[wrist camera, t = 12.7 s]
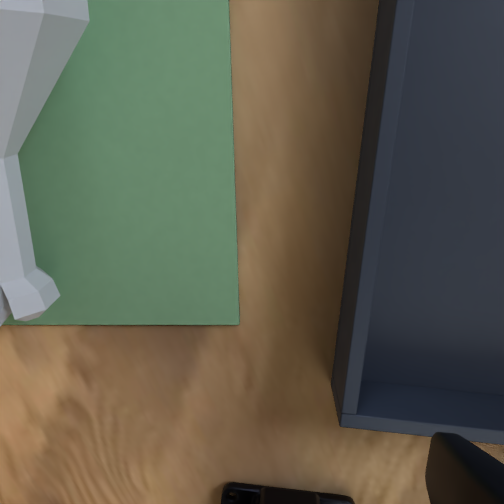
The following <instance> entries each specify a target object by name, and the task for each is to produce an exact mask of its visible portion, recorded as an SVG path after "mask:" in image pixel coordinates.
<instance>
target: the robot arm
mask: <svg viewBox="0 0 504 504" xmlns="http://www.w3.org/2000/svg"><path fill="white" fill-rule="evenodd" d="M425 480H426V487H427V491H428V495H429V499H430V503H431V504H504V464H503V463H501V462H500V461H498V460H497V459H495V458H494V457H492V456H491V455H489V454H488V453H486V452H484V451H483V450H481V449H480V448H478V447H477V446H475V445H474V444H472V443H471V442H469V441H468V440H466V439H465V438H463V437H462V436H460V435H458V434H455V433H446V432H436V433H435V434H434V435H433V437H432V439H431V444H430V450H429V455H428V460H427V466H426V472H425ZM231 492H233V493H235V494H236V495H230V494H229V493H231ZM221 504H355V503H354V501H353V499H352V498H350V497H349V496H345V495H337V494H328V493H320V492H311V491H303V490H295V489H286V488H278V487H269V486H261V485H253V484H244V483H236V482H230V483H227V484H226V485H225V486H224V488H223V491H222V499H221Z"/></svg>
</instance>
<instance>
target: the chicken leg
mask: <svg viewBox="0 0 504 504" xmlns="http://www.w3.org/2000/svg"><path fill="white" fill-rule="evenodd" d="M89 21H90V20H89V11H88V1H87V0H0V326H1V325H2V324H3V323H4V321H5V320H6V319H7V318H8V316H9V315H10V314H11V313H13V316H14V319H15V320H21V321H29V320H32V319H35V318H38V317H39V316H41V315H42V314H43V313H44V312H45V311H46V310H47V309H48V308H49V307H50V306H51V305H52V304H53V303H54V302H55V301H56V300H57V299H58V298H59V297H60V293H59V291H58V289H57V287H56V285H55V283H54V280H53V279H52V278H51V277H50V276H49V275H48V274H47V273H46V272H44V271H43V270H42V269H40V268H39V267H37V266H36V263H35V257H34V250H33V244H32V238H31V232H30V226H29V220H28V214H27V208H26V202H25V196H24V190H23V183H22V177H21V171H20V165H19V159H18V152H19V150H20V148H21V147H22V145H23V143H24V141H25V139H26V137H27V136H28V134H29V132H30V130H31V128H32V126H33V124H34V123H35V121H36V119H37V117H38V115H39V113H40V112H41V110H42V108H43V106H44V104H45V102H46V100H47V99H48V97H49V95H50V93H51V91H52V89H53V88H54V86H55V84H56V82H57V80H58V78H59V77H60V75H61V73H62V71H63V69H64V67H65V65H66V64H67V62H68V60H69V58H70V56H71V54H72V53H73V51H74V49H75V47H76V45H77V43H78V41H79V40H80V38H81V36H82V34H83V32H84V30H85V29H86V27H87V25H88V23H89Z"/></svg>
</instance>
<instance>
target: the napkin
mask: <svg viewBox="0 0 504 504" xmlns="http://www.w3.org/2000/svg"><path fill="white" fill-rule="evenodd" d="M87 1H88V11H89V20H90V21H89V23H88V25H87V27H86V29H85V30H84V32H83V34H82V36H81V38H80V40H79V41H78V43H77V45H76V47H75V49H74V51H73V53H72V54H71V56H70V58H69V60H68V62H67V64H66V65H65V67H64V69H63V71H62V73H61V75H60V77H59V78H58V80H57V82H56V84H55V86H54V88H53V89H52V91H51V93H50V95H49V97H48V99H47V100H46V102H45V104H44V106H43V108H42V110H41V112H40V113H39V115H38V117H37V119H36V121H35V123H34V124H33V126H32V128H31V130H30V132H29V134H28V136H27V137H26V139H25V141H24V143H23V145H22V147H21V148H20V150H19V152H18V159H19V165H20V171H21V177H22V183H23V190H24V196H25V202H26V208H27V214H28V220H29V226H30V232H31V238H32V244H33V250H34V257H35V263H36V266H37V267H39V268H40V269H42V270H43V271H44V272H46V273H47V274H48V275H49V276H50V277H51V278H52V279H53V280H54V283H55V285H56V287H57V289H58V291H59V293H60V297H59V298H58V299H57V300H56V301H55V302H54V303H53V304H52V305H51V306H50V307H49V308H48V309H47V310H46V311H45V312H44V313H43V314H42V315H41V316H39V317H38V318H35V319H32V320H29V321H21V320H15V319H14V316H13V313H11V314H10V315H9V316H8V318H7V319H6V320H5V321H4V323H3V324H2V325H239V323H240V315H239V285H238V255H237V226H236V196H235V166H234V136H233V106H232V76H231V47H230V17H229V0H87Z"/></svg>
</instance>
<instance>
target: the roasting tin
mask: <svg viewBox="0 0 504 504" xmlns="http://www.w3.org/2000/svg"><path fill="white" fill-rule="evenodd" d="M331 387H332V391H333V396H334V401H335V406H336V411H337V416H338V421H339V425H340V427H347V428H356V429H365V430H374V431H383V432H392V433H401V434H410V435H419V436H428V437H433V435H434V434H435V433H436V432H446V433H455V434H458V435H460V436H462V437H463V438H465V439H466V440H468V441H473V442H482V443H491V444H500V445H504V0H379V7H378V15H377V23H376V31H375V39H374V47H373V55H372V63H371V71H370V78H369V86H368V94H367V102H366V110H365V118H364V126H363V134H362V142H361V150H360V158H359V166H358V174H357V181H356V189H355V197H354V205H353V213H352V221H351V229H350V237H349V245H348V253H347V261H346V269H345V277H344V285H343V292H342V300H341V308H340V316H339V324H338V332H337V340H336V348H335V356H334V364H333V372H332V380H331Z"/></svg>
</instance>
